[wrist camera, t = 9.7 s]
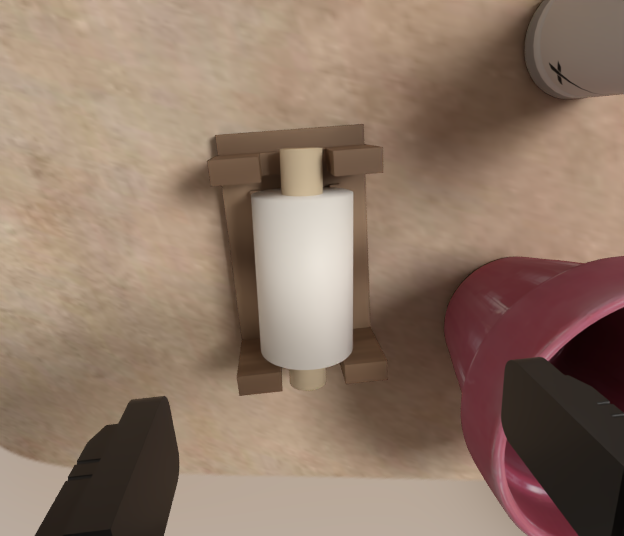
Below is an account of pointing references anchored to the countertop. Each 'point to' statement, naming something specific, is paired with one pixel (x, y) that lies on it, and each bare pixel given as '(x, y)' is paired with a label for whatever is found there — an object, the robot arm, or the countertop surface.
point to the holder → (237, 200)
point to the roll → (304, 269)
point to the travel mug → (577, 48)
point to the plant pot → (527, 344)
